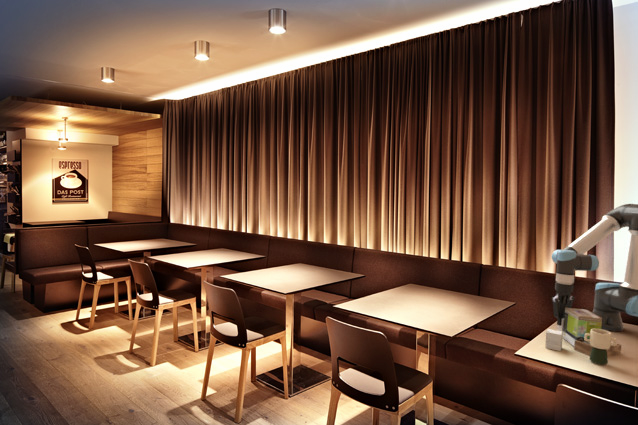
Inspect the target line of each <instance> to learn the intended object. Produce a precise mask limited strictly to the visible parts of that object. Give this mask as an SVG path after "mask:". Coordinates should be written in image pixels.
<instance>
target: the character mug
mask: <svg viewBox="0 0 638 425" xmlns="http://www.w3.org/2000/svg"><path fill="white" fill-rule="evenodd" d="M587 336H590V339H587ZM584 340H585V341H588V342H590V345H591V346H593V348H592V350H591V354H590V356H589V360H590V361H591V362H592V363H595V364H598V365H607V364H608V363H609V361H608V360H609V359H608V357H609V356H607V350H606V349H609V348H610V346H616V344H617V341H618V340H617V338H616V337H612V332H610V330H604V329H591V331H590V334H588V333H585V337H584ZM612 341H613V343H612Z"/></svg>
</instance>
